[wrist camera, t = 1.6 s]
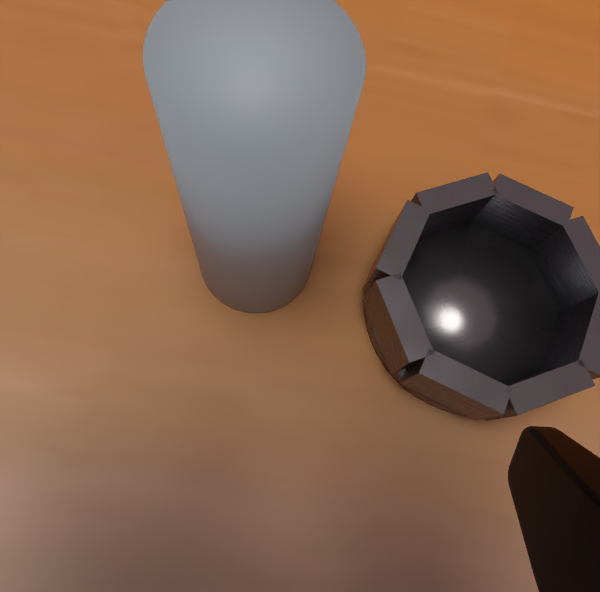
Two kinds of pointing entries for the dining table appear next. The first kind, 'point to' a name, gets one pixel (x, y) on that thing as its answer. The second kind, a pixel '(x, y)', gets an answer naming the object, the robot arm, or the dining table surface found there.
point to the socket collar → (487, 299)
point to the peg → (254, 133)
